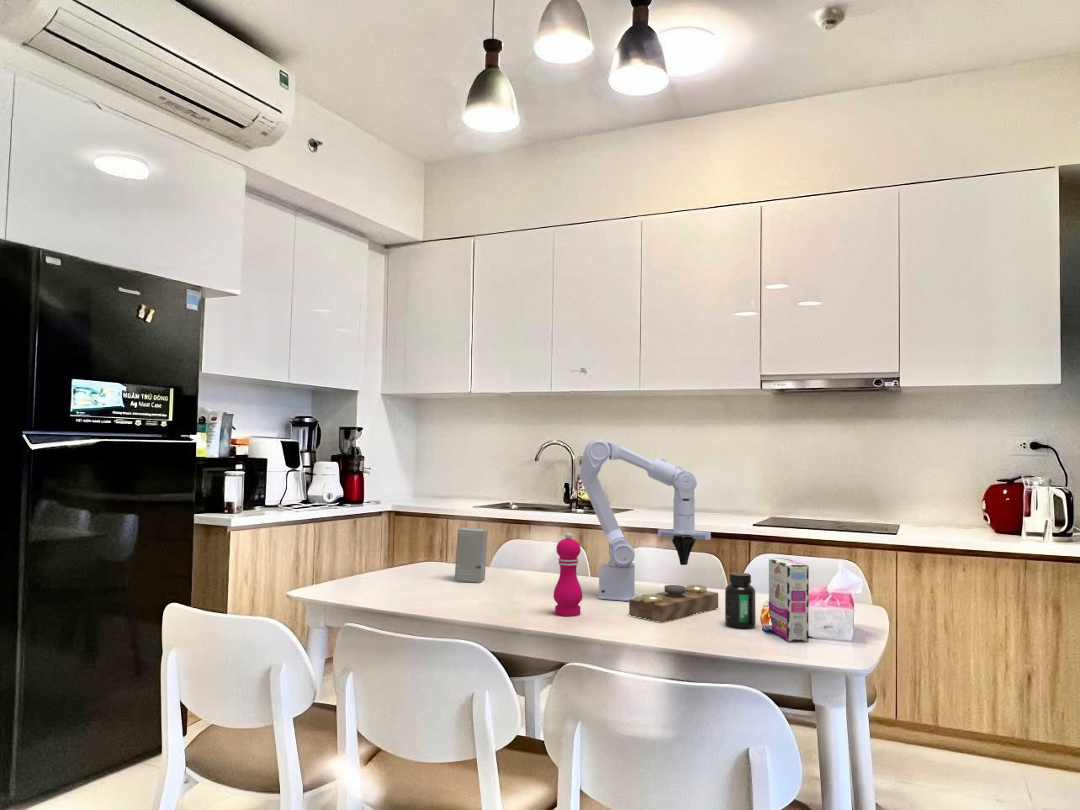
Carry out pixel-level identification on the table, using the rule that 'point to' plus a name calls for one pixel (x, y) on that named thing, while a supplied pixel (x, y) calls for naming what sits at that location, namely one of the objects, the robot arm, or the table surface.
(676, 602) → the control panel
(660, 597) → the near brass knob
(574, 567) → the pepper mill
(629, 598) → the robot arm
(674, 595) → the middle black knob
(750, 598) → the supplement bottle
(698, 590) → the far brass knob
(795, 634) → the candy bar box
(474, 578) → the skincare box
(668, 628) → the table surface
